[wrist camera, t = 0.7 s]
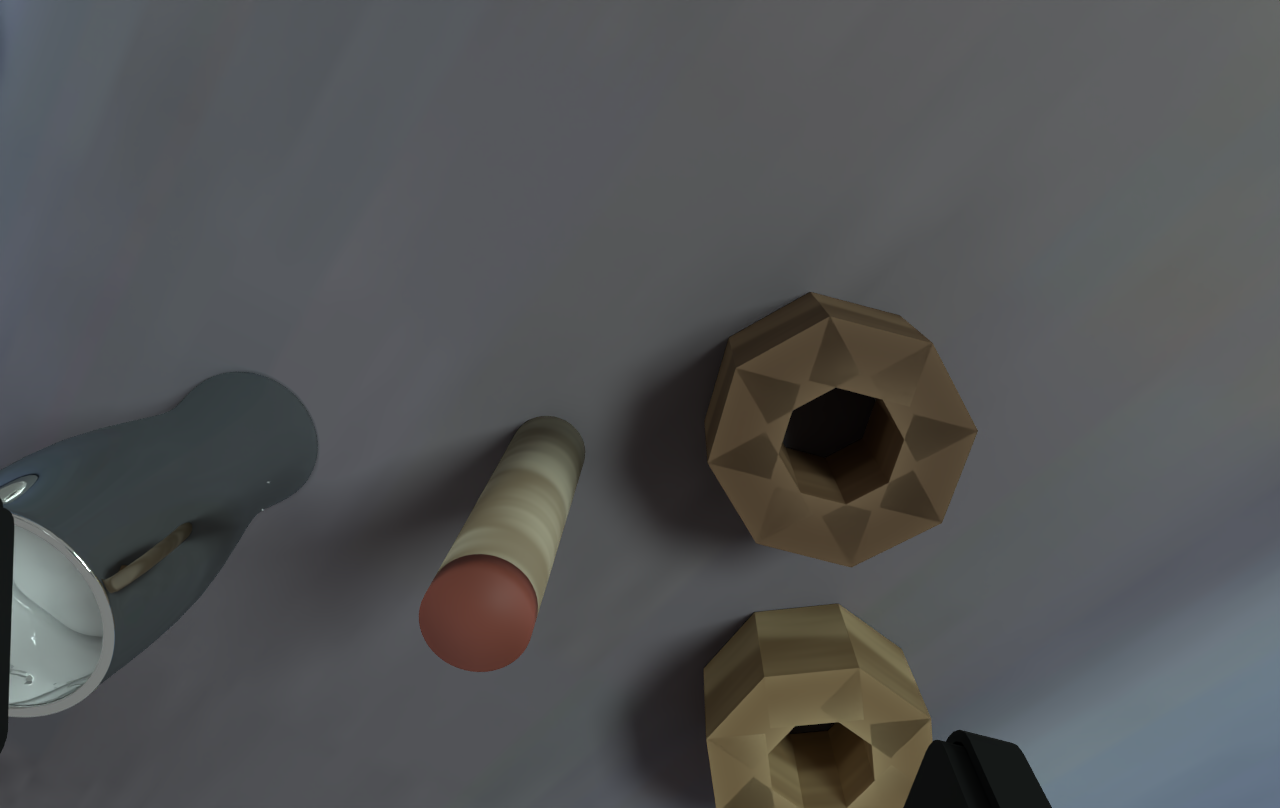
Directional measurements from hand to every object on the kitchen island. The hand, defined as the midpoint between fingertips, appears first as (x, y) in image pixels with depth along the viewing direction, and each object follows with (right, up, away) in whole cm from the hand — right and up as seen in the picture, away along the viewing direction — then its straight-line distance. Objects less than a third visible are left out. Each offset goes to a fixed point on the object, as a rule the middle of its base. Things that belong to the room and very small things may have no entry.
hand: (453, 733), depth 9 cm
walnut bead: (+9, +3, +28) cm, 30 cm away
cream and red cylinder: (-2, +1, +29) cm, 29 cm away
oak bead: (+9, -10, +32) cm, 35 cm away
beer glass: (-15, +2, +30) cm, 34 cm away
